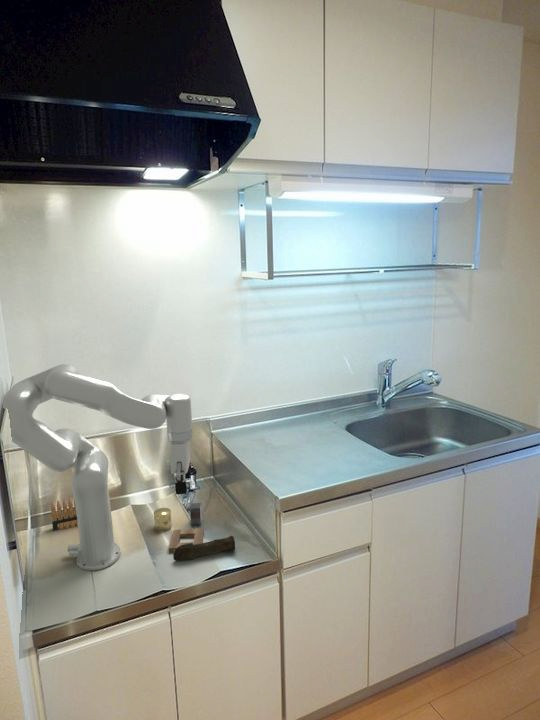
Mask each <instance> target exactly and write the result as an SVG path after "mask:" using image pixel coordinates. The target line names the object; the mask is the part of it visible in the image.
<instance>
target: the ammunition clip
mask: <svg viewBox="0 0 540 720" xmlns="http://www.w3.org/2000/svg"><path fill="white" fill-rule="evenodd" d="M67 502H68V504H67ZM67 502H66V499H65V498H63V500H62V506H61V502H60V500H59V499H57V502H56V505H55V502H54V501H53V500H52V501H51V504H50V509H51V510H50V515H51V516H50V517H51V521H52V522H51V524H52V531H53V532H55V531H58V530H63V529H68V528H70V527H71V528H74V527H78V521H77V514H76V506H75V500H74V499H73V502H72V499H71V497H69V498H68V501H67ZM67 505H68V506H67Z"/></svg>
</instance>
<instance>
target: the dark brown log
mask: <svg viewBox="0 0 540 720" xmlns="http://www.w3.org/2000/svg"><path fill="white" fill-rule="evenodd" d="M228 550H233V551H235V550H236V540H235V536H233V535H229V536H228V537H223V538H219V539H217V538H216V539H212V540H210V541H207V542H203V543H201V544H194V545H193V543H189V544H184V545H181V546H178V548H176V550H175V552H174V553H173V555H172V556H173V561H176V562H178V561H181V562H182V561H191V560H194V558H196V557H200V556H205V555H209V554H213V553H218V552H223V551H228Z"/></svg>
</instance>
